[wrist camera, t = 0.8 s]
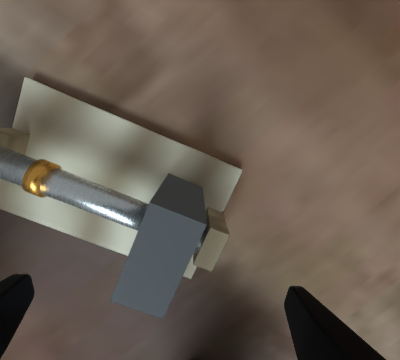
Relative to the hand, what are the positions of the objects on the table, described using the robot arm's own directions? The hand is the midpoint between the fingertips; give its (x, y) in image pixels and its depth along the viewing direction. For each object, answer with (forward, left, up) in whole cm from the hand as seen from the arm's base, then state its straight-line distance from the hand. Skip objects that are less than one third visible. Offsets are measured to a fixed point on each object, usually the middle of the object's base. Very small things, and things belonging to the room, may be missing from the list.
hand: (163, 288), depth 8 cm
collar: (0, +2, -11) cm, 11 cm away
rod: (+5, +2, -9) cm, 11 cm away
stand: (+5, +2, -12) cm, 13 cm away
